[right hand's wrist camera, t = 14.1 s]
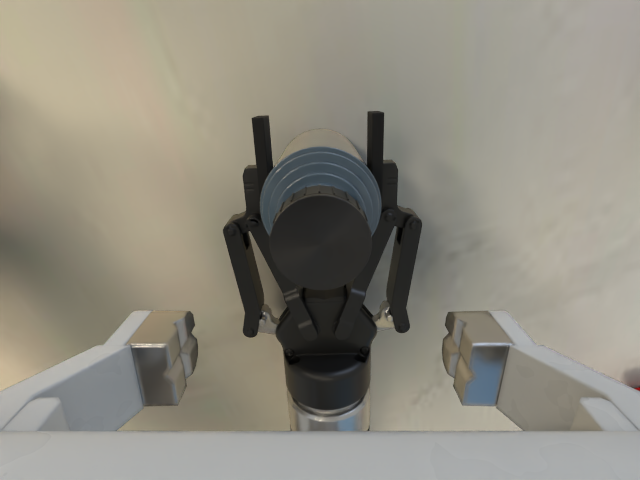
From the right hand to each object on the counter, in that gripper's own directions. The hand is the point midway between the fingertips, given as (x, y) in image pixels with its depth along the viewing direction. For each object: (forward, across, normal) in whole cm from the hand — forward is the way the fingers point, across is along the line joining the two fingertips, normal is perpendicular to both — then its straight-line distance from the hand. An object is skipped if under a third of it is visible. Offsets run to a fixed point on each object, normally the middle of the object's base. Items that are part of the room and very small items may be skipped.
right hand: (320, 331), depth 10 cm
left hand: (+18, 0, -5) cm, 19 cm away
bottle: (+24, 0, 0) cm, 25 cm away
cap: (+7, 0, 0) cm, 7 cm away
